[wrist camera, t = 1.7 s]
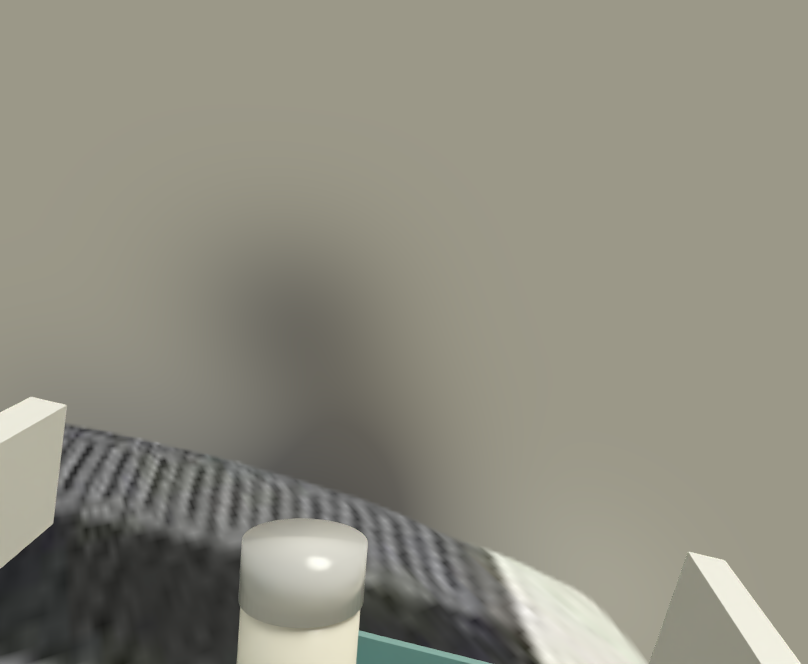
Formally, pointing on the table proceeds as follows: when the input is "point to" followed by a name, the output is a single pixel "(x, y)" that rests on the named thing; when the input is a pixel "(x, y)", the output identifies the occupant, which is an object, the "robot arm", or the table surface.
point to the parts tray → (402, 652)
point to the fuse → (301, 592)
